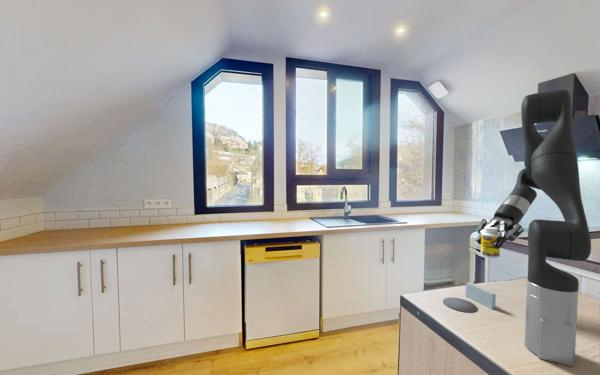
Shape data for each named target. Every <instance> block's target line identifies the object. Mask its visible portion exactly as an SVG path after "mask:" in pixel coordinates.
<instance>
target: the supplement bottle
mask: <svg viewBox="0 0 600 375" xmlns="http://www.w3.org/2000/svg"><path fill="white" fill-rule="evenodd" d="M498 237H500V233H499V232H498V228H494V227H484V232H482V233H481V244H480V255H481V256H482V257H484V258H490V259H498V258H499V257H501V256H500V254H501V247H500V248H499V249H496V248H495V247H494V246H493V244H494V242H495V241H496V240H497V238H498Z"/></svg>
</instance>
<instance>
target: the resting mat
mask: <svg viewBox="0 0 600 375" xmlns="http://www.w3.org/2000/svg"><path fill="white" fill-rule="evenodd" d="M442 303H443V305H444V306H446V307H447V308H449V309H452V310H455V311H458V312H463V313H475V312H477V311H478V307H477V306H476V304H474V303H473V302H471V301H469V300H466V299H464V298H460V297H459V298H458V297H445V298H443V300H442Z"/></svg>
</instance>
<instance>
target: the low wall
mask: <svg viewBox="0 0 600 375" xmlns="http://www.w3.org/2000/svg"><path fill="white" fill-rule="evenodd" d="M465 297H467V298H468V299H471V300H472V301H474V302H477V303H479V304H480V305H482V306H485V307H487V308H489V309H491V310H494V309H496V301H497V300H496V299H497V298H496V293H495V292H492V291H490V290H488V289H485V288H483V287H481V286H478V285H477V284H474V283H473V282H466V283H465Z"/></svg>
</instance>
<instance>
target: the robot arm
mask: <svg viewBox="0 0 600 375" xmlns="http://www.w3.org/2000/svg"><path fill="white" fill-rule="evenodd" d="M572 107H573V106H572V97H571V94H570V92H569V90H567V89H555V90H548V91H543V92H542V91H541V92H537V93H532V94H527V95H525V97H523V99H522V102H521V107H520V108H521V110H520V113H521V115H520V116H521V127H522V136H523V143H524V160H523V161H524V168H523V169H521V170H520V171H519V172H518V174H517V178H516V179H517V180H516V183H515V186H514V188H513V190H511V192H510V194H508V196H507V197H506V198H505V199H504V201H502V203H501V204H500V205H499V207H498V208H497V210H495V212H494V215H493V217H492V218H491V219H490V220H489V219H488V220H487V219H485V218H482V219H481V221H480V222H479V224H478V227H477V228H476V231H477V232H478V233H479V235H478V236H477V237H476V240H475V241H476V243H477V244H478V245H481V233H482V232H484V227H494V228H498V234H500V237H498V238H497V240H496V241H495V242H494V244H493V246H494V247H495V248H496V249H499V248H500V249H501V248H502V246H503V245H504V244H505V242H507V241H510V242H515V240H516V239H517V238H518V237H519V236H520V235H521V234H522V233H523V232H524V231H525V229H524V228H523V226H522V225H521V224H520V222H521V221H522V220H523V218H524V216H525V215H526V214H527V212H528V211H529V208H530V207H531V205H532V204H533V202H534V201H535V200H536V198H537V195H538V194H537V191H536V190H535V189H537V190H540V191H542V192H543V193H544V194H545V195H546V196H547V197H548V198H549V199H550V200H551V201H552V202H553V203H554V204H555V205H556V207H557V208H558V209H559V210H560V213H561V215H562V217H563V219H564V220H553V219H552V220H551V219H550V220H549V219H538V218H537V219H533V220H532V221H530V222H529V224H528V230H527V249H528V252H527V253H528V254H527V255H528V258H527V259H528V260H527V261H528V262H527V279H526V280H527V282H526V300H525V303H526V304H525V326H524V327H525V328H524V346H525V347H526V349H528V350H529V351H530V352H531V353H533V354H535V355H536V356H537V357H538V358H539V359H542V360H545V361H550V362H554V363H557V364H561V365H566V366H569V367H574V363H575V361H576V346H577V344H576V343H577V342H576V340H577V325H578V324H577V323H578V302H579V286H580V281H579V279H578V278H577V277H576V276H575V275H573V274H572V273H569V272H568V271H565V270H563V269H559V268H558V267H556V266H553V265H552V264H550V263H549V262H548V261H547V258H552V259H558V260H559V259H560V260H566V261H567V260H568V261H576V262H584V261H586V260H588V259H589V258H590V255H591V252H592V238H591V233H590V229H589V226H588V225H589V224H588V222H587V221H588V220H587V216H586V213H585V209H584V204H583V199H582V193H581V185H580V173H579V162H578V156H577V155H578V154H577V152H576V151H577V150H576V146H575V145H576V144H575V141H574V135H573V134H574V133H573V109H572ZM553 122H555V124H554V127H553V128H552V130H551V132H550V133H549V134H548V136H546V138H545V137H544V136H543V135H541V133H539V131H538V130H537V128H536V126H535V124H545V123H553Z"/></svg>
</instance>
